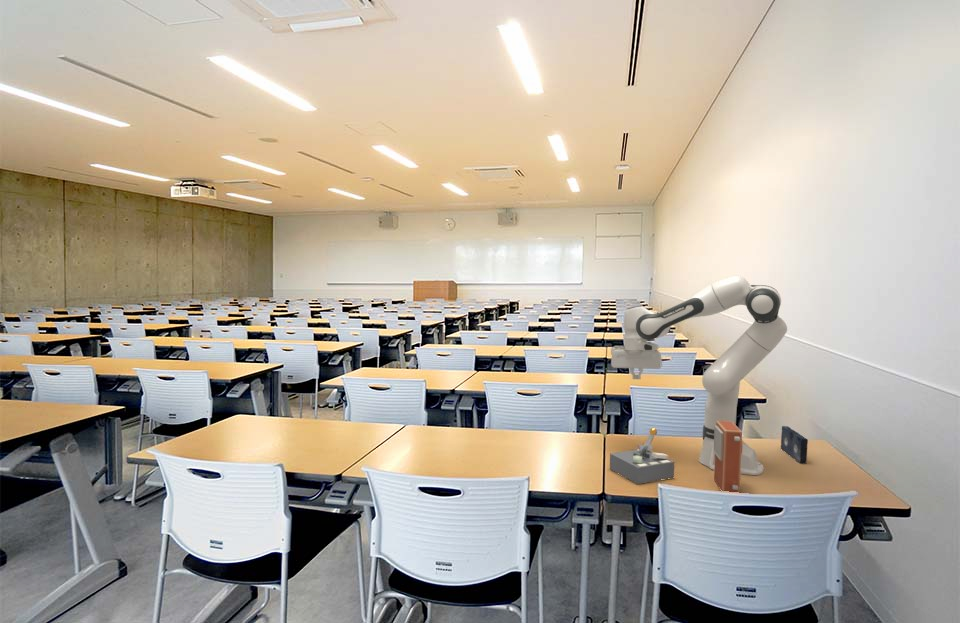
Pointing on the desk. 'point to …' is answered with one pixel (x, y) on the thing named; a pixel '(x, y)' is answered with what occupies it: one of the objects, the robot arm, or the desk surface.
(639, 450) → the grey bar
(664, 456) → the block
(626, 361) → the robot arm
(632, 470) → the console
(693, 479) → the desk surface
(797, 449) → the vhs cassette tape
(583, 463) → the desk surface
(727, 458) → the orange box
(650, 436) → the lever
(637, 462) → the button
